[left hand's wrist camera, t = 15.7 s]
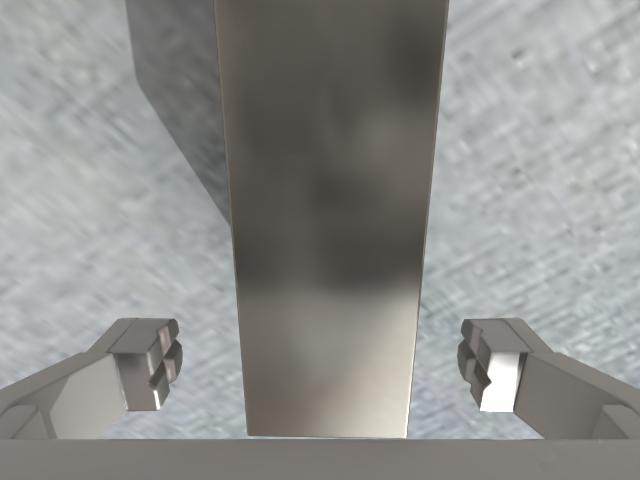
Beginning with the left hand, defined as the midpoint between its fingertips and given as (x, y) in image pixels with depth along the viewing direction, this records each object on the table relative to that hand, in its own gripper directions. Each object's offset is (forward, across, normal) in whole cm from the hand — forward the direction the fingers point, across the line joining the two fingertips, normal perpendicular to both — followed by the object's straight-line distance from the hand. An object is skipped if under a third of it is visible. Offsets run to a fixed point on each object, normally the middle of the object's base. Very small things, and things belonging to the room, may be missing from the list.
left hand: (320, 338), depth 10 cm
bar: (+10, 0, -7) cm, 12 cm away
